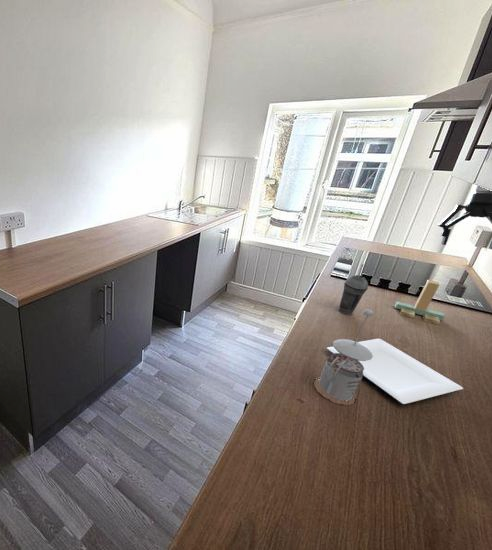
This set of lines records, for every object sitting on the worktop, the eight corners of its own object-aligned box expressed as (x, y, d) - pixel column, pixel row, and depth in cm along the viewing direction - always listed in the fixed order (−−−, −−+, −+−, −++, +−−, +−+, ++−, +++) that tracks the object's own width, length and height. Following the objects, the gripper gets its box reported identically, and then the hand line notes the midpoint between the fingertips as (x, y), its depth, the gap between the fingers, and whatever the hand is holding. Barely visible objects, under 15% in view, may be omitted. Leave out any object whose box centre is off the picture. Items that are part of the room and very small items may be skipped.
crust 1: (413, 314, 117) (415, 311, 116) (412, 318, 114) (414, 315, 113) (400, 310, 119) (402, 307, 118) (399, 314, 116) (401, 311, 116)
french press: (364, 396, 77) (405, 315, 66) (340, 414, 71) (380, 328, 61) (325, 372, 85) (356, 296, 74) (301, 387, 79) (331, 306, 69)
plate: (400, 409, 73) (404, 403, 73) (324, 352, 93) (326, 347, 92) (460, 393, 79) (464, 387, 78) (377, 342, 99) (379, 337, 98)
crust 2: (436, 320, 113) (438, 317, 113) (438, 325, 110) (440, 321, 110) (422, 316, 115) (424, 313, 115) (424, 321, 113) (425, 317, 112)
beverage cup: (337, 314, 115) (356, 267, 106) (332, 305, 121) (349, 260, 113) (359, 318, 113) (380, 270, 104) (352, 309, 119) (371, 263, 111)
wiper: (440, 318, 115) (458, 286, 109) (441, 321, 113) (460, 289, 107) (394, 306, 122) (408, 275, 117) (394, 309, 120) (409, 278, 114)
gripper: (530, 194, 111) (507, 249, 117) (438, 191, 124) (422, 241, 130) (541, 194, 105) (517, 252, 111) (444, 191, 118) (427, 243, 124)
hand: (466, 246), depth 121 cm, fingers open, 13 cm apart
